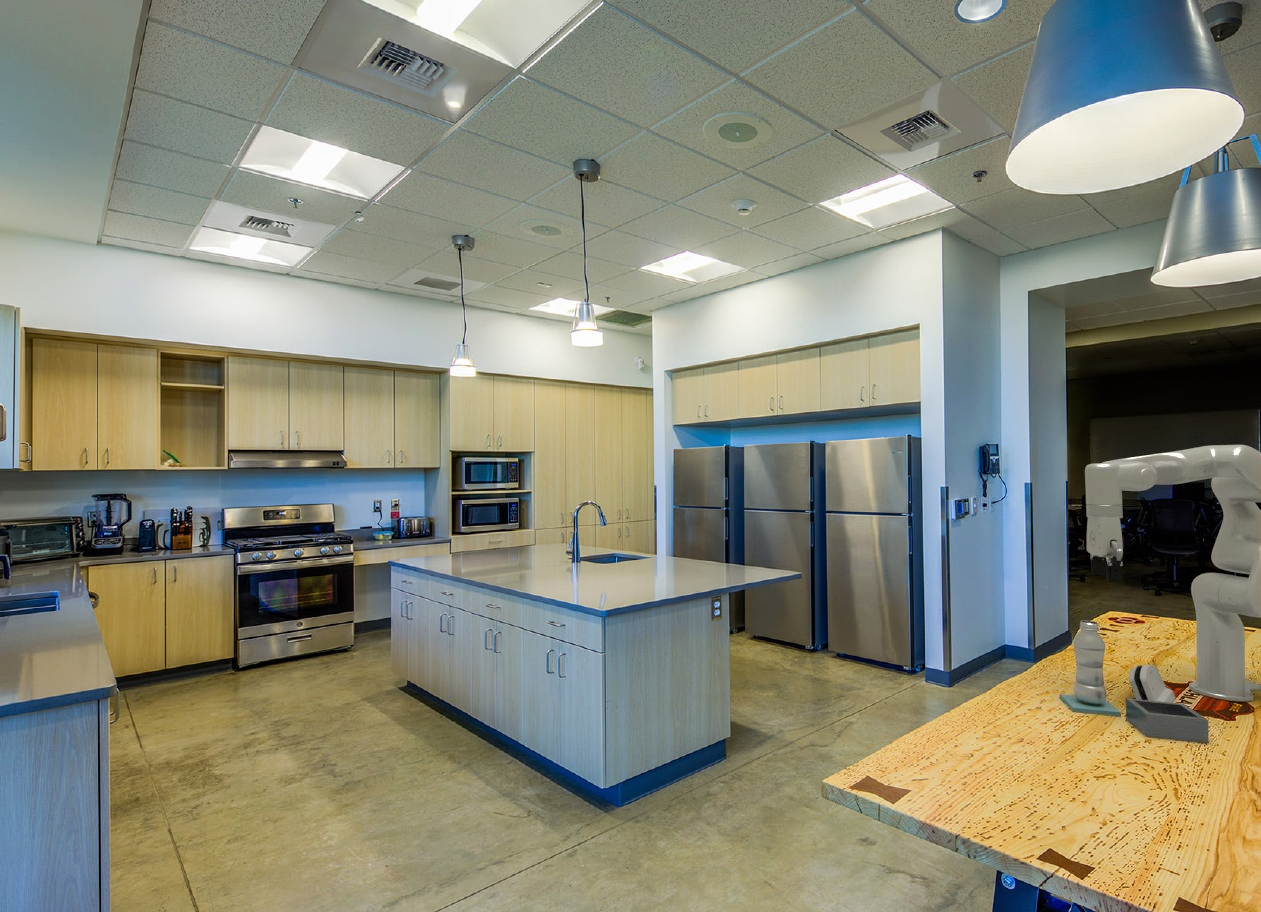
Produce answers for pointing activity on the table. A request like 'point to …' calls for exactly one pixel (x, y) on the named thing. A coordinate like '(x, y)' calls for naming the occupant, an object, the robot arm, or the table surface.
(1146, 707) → the square socket
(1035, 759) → the table surface
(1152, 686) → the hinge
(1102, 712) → the board
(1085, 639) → the plastic bottle
